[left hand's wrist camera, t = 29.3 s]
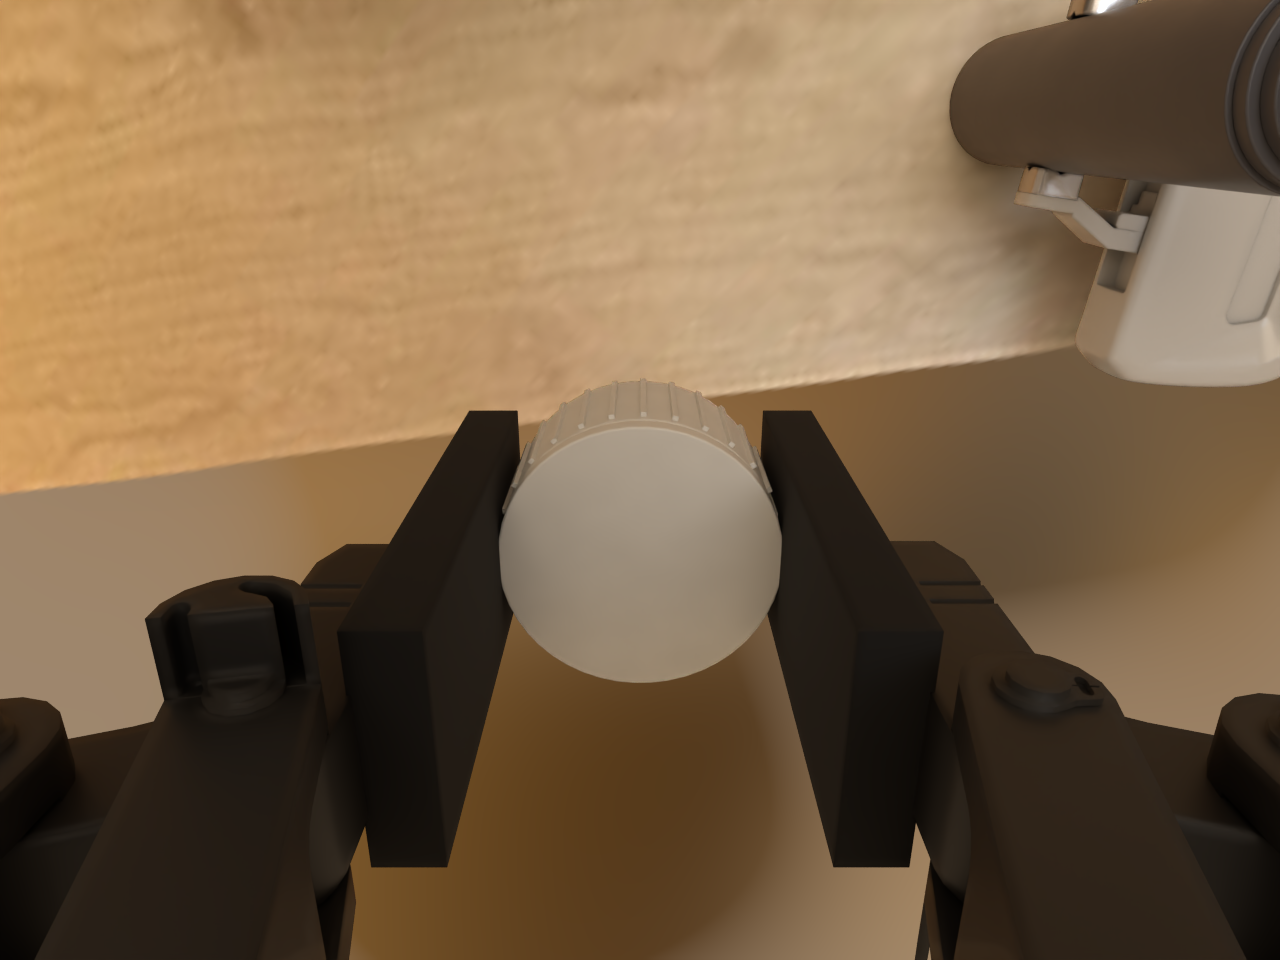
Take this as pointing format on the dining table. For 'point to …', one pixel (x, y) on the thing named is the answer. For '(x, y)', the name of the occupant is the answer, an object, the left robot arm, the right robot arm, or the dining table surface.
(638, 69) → the dining table surface
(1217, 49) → the bottle
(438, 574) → the left robot arm
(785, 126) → the dining table surface
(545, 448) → the cap
